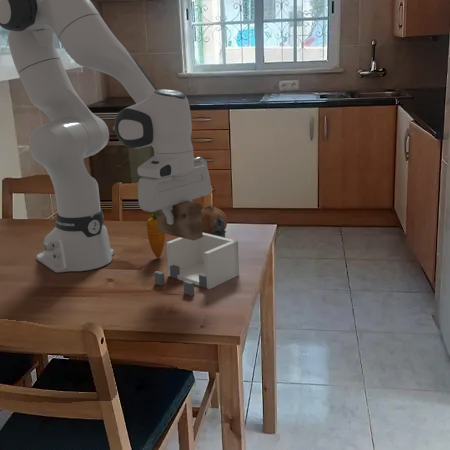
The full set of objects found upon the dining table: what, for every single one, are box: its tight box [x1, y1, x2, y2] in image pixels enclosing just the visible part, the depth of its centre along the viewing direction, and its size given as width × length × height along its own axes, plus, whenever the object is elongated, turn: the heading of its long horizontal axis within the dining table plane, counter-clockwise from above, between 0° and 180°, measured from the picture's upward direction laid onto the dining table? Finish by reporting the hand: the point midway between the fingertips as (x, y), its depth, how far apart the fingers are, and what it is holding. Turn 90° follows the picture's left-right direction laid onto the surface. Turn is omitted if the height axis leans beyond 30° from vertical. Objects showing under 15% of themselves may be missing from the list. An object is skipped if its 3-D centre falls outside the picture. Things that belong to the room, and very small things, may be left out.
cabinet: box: [153, 233, 240, 297], centre depth 144 cm, size 14×16×9 cm
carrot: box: [146, 211, 166, 259], centre depth 158 cm, size 5×5×15 cm
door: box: [155, 201, 203, 241], centre depth 136 cm, size 12×4×8 cm, turn 49°
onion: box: [201, 203, 228, 235], centre depth 175 cm, size 10×9×10 cm
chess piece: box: [213, 216, 227, 238], centre depth 157 cm, size 6×6×12 cm
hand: (178, 221), depth 137 cm, fingers closed on door, 3 cm apart
